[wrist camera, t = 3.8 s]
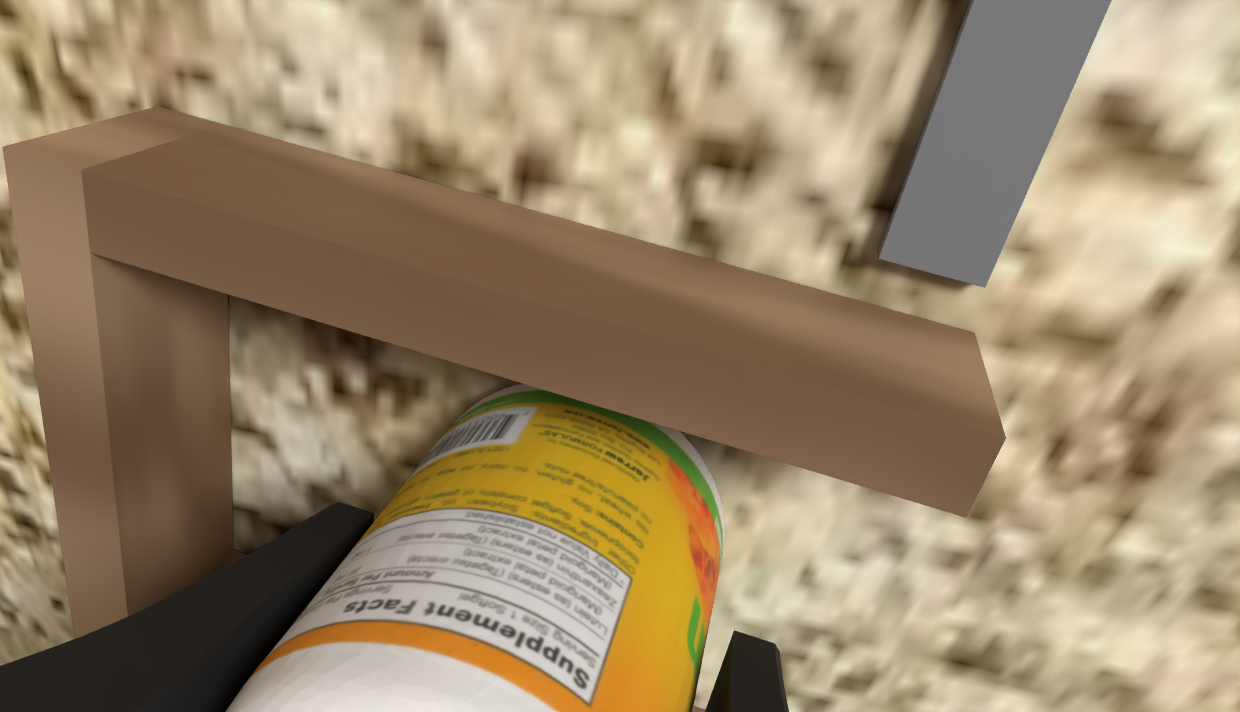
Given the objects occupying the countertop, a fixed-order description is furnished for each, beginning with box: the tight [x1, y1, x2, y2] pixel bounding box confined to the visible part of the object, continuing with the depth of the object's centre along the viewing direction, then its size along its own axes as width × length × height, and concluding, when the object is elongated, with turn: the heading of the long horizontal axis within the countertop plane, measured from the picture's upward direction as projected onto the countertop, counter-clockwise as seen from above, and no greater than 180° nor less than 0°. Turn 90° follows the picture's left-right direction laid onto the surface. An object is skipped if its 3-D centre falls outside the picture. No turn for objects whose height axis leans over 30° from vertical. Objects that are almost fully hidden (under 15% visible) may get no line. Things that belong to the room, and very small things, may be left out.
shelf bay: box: [3, 106, 1006, 712], centre depth 15 cm, size 10×13×3 cm
